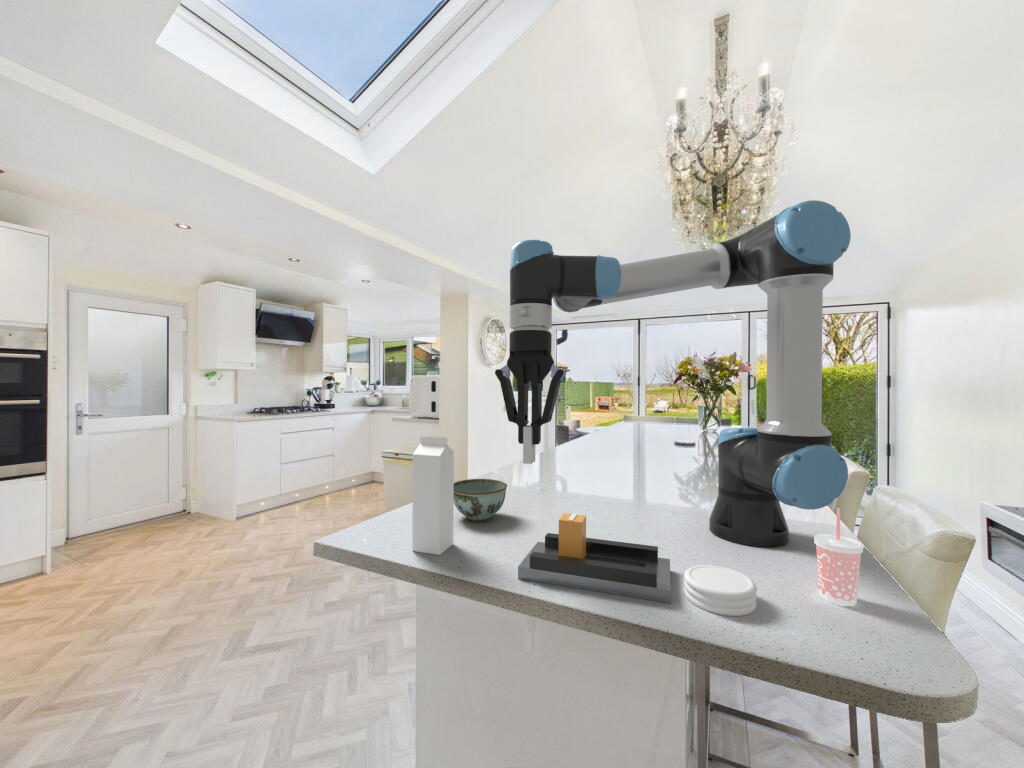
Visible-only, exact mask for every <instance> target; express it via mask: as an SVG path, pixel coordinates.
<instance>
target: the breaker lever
mask: <svg viewBox="0 0 1024 768" xmlns="http://www.w3.org/2000/svg"><path fill="white" fill-rule="evenodd" d="M558 534H559V555H560V556H567V557H574V558H581V559H584V558H585V556H586V538H587V515H584V514H583V515H582V514H577V513H567V512H566V513H565V512H563V514H562V515H561V516H560V517H559V519H558Z"/></svg>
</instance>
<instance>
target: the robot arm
mask: <svg viewBox="0 0 1024 768" xmlns="http://www.w3.org/2000/svg"><path fill="white" fill-rule="evenodd" d="M851 237H852V235H851V228H850V224H849V223H848V220H847V218H846V217H845V215H844V214H843V213H842V212H841V211H839V210H837V209H836V206H834V205H833V204H830V203H829V202H825V201H821V200H817V199H816V200H814V199H813V200H805V201H801V202H799V203H797V204H795V205H792V206H790V207H786V208H784V209H783V210H782V211H780V212H779V213H778V214H776V215H774V216H773V217H771V218H769V219H767V220H766V221H764V222H762V223H759V225H757V226H754V227H753V228H751V229H749V230H747V231H745V232H743V233H741V234H739V235H738V236H736V237H733V238H730V239H728V240H724V241H721V242H714V243H712V244H710V245H709V246H708V248H707V249H703V250H696V251H691V252H685V253H680V254H679V253H678V254H673V255H669V256H668V255H667V256H662V257H656V258H651V259H645V260H639V261H635V262H634V261H633V262H628V263H620V261H619V260H618V259H617V258H616V257H613V256H604V255H602V256H601V254H599V255H596V256H595V255H560V254H555V253H554V251H553V244H551V243H550V242H548V241H545V240H540V239H526V240H520V241H519V242H517V243H515V244H514V245H513V246H512V248H511V250H510V265H509V296H510V297H509V328H510V329H512V331H510V333H509V355H508V358H507V361H506V364H505V365H504V366H503V367H500V368H499V369H498V368H497V369H495V371H494V374H495V377H496V378H497V380H498V381H499V383H500V389H501V393H502V398H503V401H504V406H505V411H506V416H507V420H508V422H510V423H514V424H516V425H517V430H518V431H517V434H518V435H517V436H518V437H517V441H518V444H519V445H520V444H522V447H523V448H522V463H523V464H528V465H531V464H533V463H535V462H536V445H539V444H541V441H542V438H541V437H542V435H541V434H542V429H541V428H542V426H543V425H545V424H548V423H550V422H551V421H552V418H553V415H554V414H553V413H554V410H555V406H556V402H557V397H558V394H559V391H560V386H561V383H562V382H563V380H564V378H565V377H566V375H567V371H566V370H565V369H561V368H560V367H559V366H557V365H555V361H554V358H553V355H552V344H553V343H552V340H553V339H552V333H551V331H549V330H550V329H552V328H553V324H552V323H553V318H552V317H553V314H552V313H553V309H552V308H553V306H552V305H553V303H554V304H555V307H557V308H558V309H559V311H562V312H566V313H574V312H578V311H580V310H582V309H585V308H586V309H587V308H591V307H592V308H593V307H597V306H602V305H606V304H613V303H617V302H624V301H631V300H636V299H641V298H648V297H653V296H659V295H664V294H671V293H676V292H681V291H687V290H693V289H700V288H704V287H710V286H711V287H712V288H713V289H715V290H722V289H726V288H733V287H743V286H754V285H758V288H759V289H761V291H763V292H764V293H765V294H766V296H767V307H766V310H767V311H766V313H767V315H766V334H767V335H766V401H765V402H766V413H765V414H766V415H765V416H766V417H765V421H764V423H762V424H761V425H759V426H758V427H741V428H739V427H735V428H733V427H732V428H723V429H722V430H720V432H719V436H718V442H717V447H718V461H717V462H718V464H717V465H718V471H717V472H718V483H717V484H718V486H717V487H718V489H717V490H718V491H717V492H718V494H717V497H716V501H715V503H714V506H713V508H712V511H711V513H710V517H709V519H708V520H709V526H708V527H709V531H710V532H711V533H712V534H713V535H715V536H717V537H719V538H722V539H723V540H727V541H729V542H732V543H733V542H734V543H738V544H743V545H747V546H748V545H749V546H755V547H779V546H783V544H784V545H786V544H788V543H787V542H789V541H790V533H789V532H790V530H789V529H790V528H789V526H788V524H787V521H786V518H785V514H784V512H783V509H782V506H781V503H783V504H784V505H787V506H790V507H795V508H799V509H802V510H819V509H822V508H824V507H827V506H829V505H830V504H832V503H833V501H834V500H835V499H838V498H839V497H840V496H841V494H842V493H843V492H844V490H845V489H846V486H847V483H848V479H849V468H848V464H847V462H846V460H845V458H843V457H842V455H841V453H840V452H839V451H837V450H836V449H834V448H833V439H832V438H833V435H832V432H831V431H830V430H829V429H828V427H826V426H825V425H824V424H823V422H822V411H823V410H822V407H823V406H822V403H823V400H822V398H823V397H822V395H823V393H822V392H823V391H822V389H823V386H822V385H823V381H822V380H823V301H824V300H823V298H824V297H823V296H824V293H823V291H824V289H825V288H826V287H827V285H828V284H830V283H831V282H832V281H833V280H834V263H835V262H836V261H838V260H839V259H840V258H841V257H842V256H843V255H844V253H845V252H846V251H847V250H848V248H849V247H850V243H851ZM552 302H553V303H552ZM550 372H551V373H550ZM511 373H512V375H513V376H514V378H515V379H516V387H517V403H516V399H515V396H514V395H515V394H514V390H513V386H512V381H511V379H510V377H511ZM549 373H550V378H551V381H550V383H549V388H548V391H547V394H546V395H547V396H546V400H545V403H544V408H542V407H543V405H542V404H543V386H544V385H543V384H544V382H543V381H544V380H545V379H546V377H547V376H548V375H549ZM529 388H531V421H529ZM542 411H543V412H542ZM530 422H531V423H530Z"/></svg>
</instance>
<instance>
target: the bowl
mask: <svg viewBox="0 0 1024 768" xmlns="http://www.w3.org/2000/svg"><path fill="white" fill-rule="evenodd" d="M507 487H508V484H507V483H506V482H505V481H501V480H497V479H491V478H470V479H464V480H463V479H462V480H458V481H456V482H455V481H454V506H455V508H456V509H457V511H459V513H460V514H462V515H463V516H465V518H466V520H467V519H468V520H467V521H469V522H472V521H474V522H475V523H483V522H489V521H490V520H492V518H493V516H494V515H495V514H496V513H497V512H498V511H500V509H502V506H503V505H504V503H505V499H506V494H507V493H506V492H507ZM474 522H473V523H474Z"/></svg>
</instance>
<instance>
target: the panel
mask: <svg viewBox="0 0 1024 768" xmlns="http://www.w3.org/2000/svg"><path fill="white" fill-rule="evenodd" d="M517 579H519V580H524V581H525V580H526V581H531V582H537V583H542V584H549V585H554V586H561V587H568V588H572V589H573V588H574V589H579V590H587V591H592V592H597V593H603V594H611V595H615V596H616V595H617V596H622V597H629V598H635V599H641V600H647V601H654V602H659V603H664V602H665V604H671V598H672V597H671V589H672V588H671V559H670V558H667V557H666V558H664V557H659V546H656V545H655V546H654V545H650V544H649V545H647V544H641V543H640V544H639V543H631V542H625V541H624V542H623V541H615V540H606V539H599V538H594V537H593V538H592V537H591V538H590V537H586V556H585V558H584V559H581V558H574V557H567V556H560V555H559V533H550V532H547V533H546V535H544V541H537V542H536V543H535V545H534V546H533V547H532V548H531V550H530V551H528V554H527V555H526V556H525V557H524V558H523V560H522V561H521V562H520V564H519V565H518V566H517Z"/></svg>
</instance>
